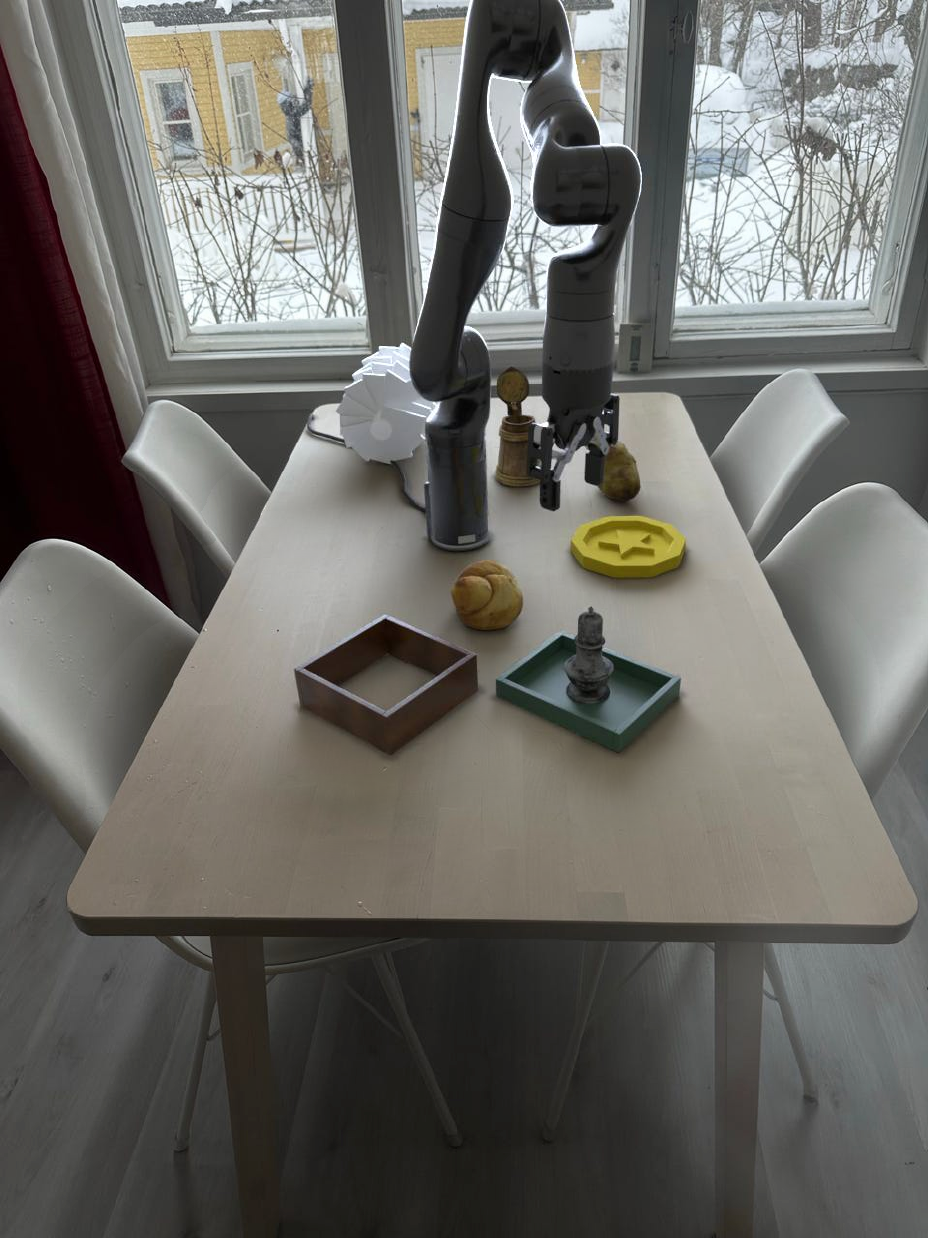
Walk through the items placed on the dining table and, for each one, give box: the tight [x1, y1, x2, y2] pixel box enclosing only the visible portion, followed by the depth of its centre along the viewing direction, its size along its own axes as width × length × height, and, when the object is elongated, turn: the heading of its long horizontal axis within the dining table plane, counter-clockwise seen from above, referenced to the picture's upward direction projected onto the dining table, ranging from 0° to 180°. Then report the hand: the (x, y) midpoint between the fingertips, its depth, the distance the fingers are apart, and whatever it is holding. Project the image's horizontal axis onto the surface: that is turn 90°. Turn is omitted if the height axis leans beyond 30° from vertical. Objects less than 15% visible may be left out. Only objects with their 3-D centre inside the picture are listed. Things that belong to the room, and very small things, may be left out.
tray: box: [495, 630, 682, 753], centre depth 112 cm, size 18×14×3 cm
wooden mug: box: [494, 366, 541, 487], centre depth 167 cm, size 9×14×18 cm, turn 6°
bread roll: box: [450, 559, 524, 631], centre depth 128 cm, size 13×10×8 cm
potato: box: [597, 440, 642, 502], centre depth 161 cm, size 8×13×8 cm, turn 175°
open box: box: [293, 614, 479, 757], centre depth 112 cm, size 16×16×6 cm
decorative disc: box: [570, 515, 687, 579], centre depth 143 cm, size 17×18×2 cm
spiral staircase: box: [335, 342, 438, 465], centre depth 182 cm, size 18×18×25 cm
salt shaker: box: [564, 605, 614, 704], centre depth 109 cm, size 6×6×12 cm
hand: (572, 495), depth 107 cm, fingers open, 8 cm apart
